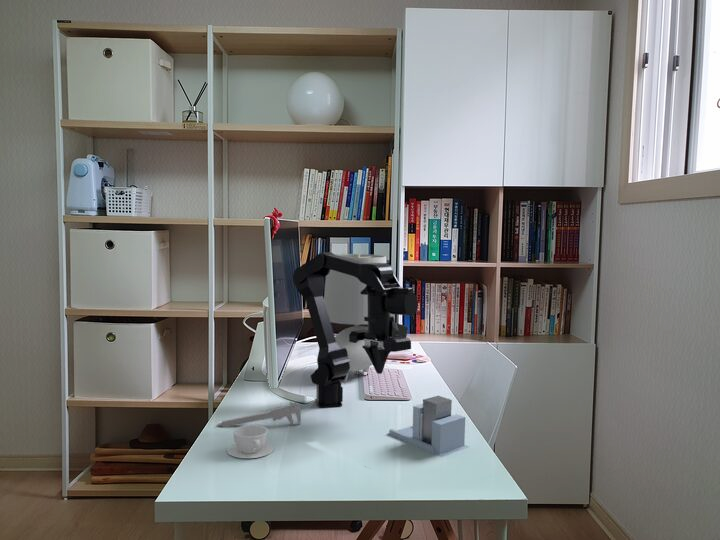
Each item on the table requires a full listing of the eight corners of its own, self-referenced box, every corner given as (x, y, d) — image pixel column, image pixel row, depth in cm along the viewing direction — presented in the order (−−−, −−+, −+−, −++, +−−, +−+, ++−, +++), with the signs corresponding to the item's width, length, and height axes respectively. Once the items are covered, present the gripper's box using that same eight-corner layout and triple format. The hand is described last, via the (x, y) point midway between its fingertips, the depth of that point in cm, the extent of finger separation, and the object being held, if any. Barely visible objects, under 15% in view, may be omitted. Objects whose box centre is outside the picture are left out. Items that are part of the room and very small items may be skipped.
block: (421, 443, 132) (423, 399, 131) (437, 438, 135) (438, 395, 134) (435, 448, 129) (436, 404, 128) (450, 443, 132) (451, 399, 131)
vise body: (387, 438, 138) (388, 406, 137) (414, 430, 143) (415, 399, 143) (441, 461, 125) (442, 426, 124) (469, 451, 130) (470, 417, 130)
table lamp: (364, 390, 176) (366, 257, 173) (306, 379, 187) (307, 254, 184) (400, 374, 195) (402, 254, 192) (345, 365, 207) (347, 251, 203)
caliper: (300, 424, 147) (300, 399, 146) (300, 426, 146) (300, 401, 145) (217, 426, 144) (217, 401, 144) (216, 428, 143) (216, 402, 143)
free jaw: (412, 440, 133) (413, 406, 132) (431, 434, 137) (432, 400, 137) (419, 443, 131) (420, 408, 131) (439, 437, 135) (440, 403, 135)
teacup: (222, 447, 131) (222, 426, 131) (264, 440, 136) (264, 420, 135) (235, 463, 122) (235, 442, 122) (280, 455, 127) (280, 434, 127)
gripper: (427, 313, 147) (427, 375, 148) (380, 306, 162) (381, 363, 163) (393, 317, 140) (393, 382, 141) (347, 310, 155) (348, 368, 156)
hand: (379, 373), depth 150 cm, fingers closed
